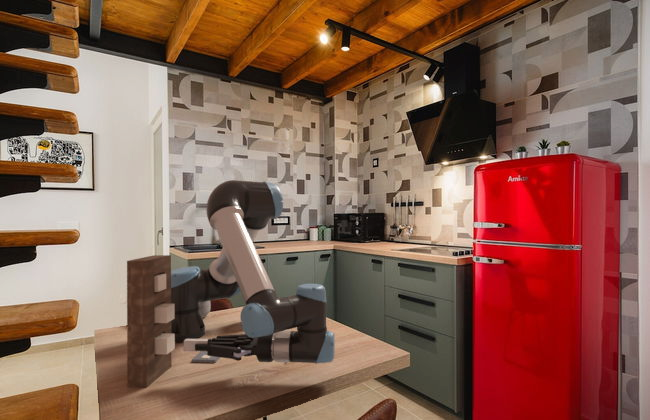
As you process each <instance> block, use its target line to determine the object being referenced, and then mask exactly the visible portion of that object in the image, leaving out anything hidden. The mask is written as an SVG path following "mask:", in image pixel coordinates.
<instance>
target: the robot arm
mask: <svg viewBox="0 0 650 420" xmlns="http://www.w3.org/2000/svg"><path fill="white" fill-rule="evenodd" d="M283 210H284V198H283V193H282V191H281V189H280V187H278V185H277V184H276V183H273V182H266V181H251V180H249V181H248V180H236V179H231V180H227V181H224V182H222V183H220V184H218V185H217V186H216V187H214V189H213V190H212V191H211V193H210V195H209V197H208V199H207V203H206V217H207V220H208V223H209V225H210V227H211V228H212V229H213V230H216V232H217V234H218V235H217V236H218V239H219V240H220V243H221V245H222V249H221V250H220V253H219V255H218V258H216V259H214V260H213V261H211V263H210V264H209V267H208V268H205V269H201V268H200V267H199V266H197V265H193V266H192V265H191V266H184V267H180V268H176V269H173V270H172V269H171V304H174V309H175V319H173V320H171V334H175V343H182V342H183V351H184V352H200V351H201V352H207V355H208V356H214V357H220V358H223V359H231V360H233V361H238V362H239V361H242V357H252V356H255V357H256V359H257V361H258V362H259V363H273V362H275V363H283V364H285V365H286V364H288V363H303V364H305V363H306V364H326V363H331V362H333V361H334V359H335V350H336V349H335V348H336V347H335V346H336V345H335V343H336V340H335V332H334V331H330V330H328V327H327V303H328V301H327V293H326V292H327V291H326V287H325V286H324V285H322V284H319V283H303V284H299V285H298V286H297V287H296V293H295V295H288V296H285V297H278V295H277V293H276V290H275V289H274V285H273V284H272V282H271V279H270V277H269V275H268V273H267V272H268V271H266V269H265V266H264V264H263V261H262V260H261V257H260V255H259V253H258V251H257V247H256V246H255V244H254V241H255V239H256V237H257V235H258V233H259V231H261V230H263V229H265V228H266V227H267V225H268V223H269V222H270V220H275V219H278V218H280V217H281V216H282V213H283ZM239 293H241V296H242V298H243V301H244V303H245V305H244V306H243V307H242V309H241V312H240V321H241V325H240V326H241V329H242V331H243V332H244V333H242V334H241V333H240V334H227V335H226V334H225V335H224V334H223V335H217V336H216V337H212V338H201V337H202V336H204V335H205V334H206V325H205V323H204V322H205V321H204V320H203V318H202V316H201V313H200V302H205V301H210V302H211V301H216V300H223V299H229V298H232V297H236V296H237V295H238V294H239ZM295 328H296V330H292V329H295Z"/></svg>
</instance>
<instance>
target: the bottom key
mask: <svg viewBox="0 0 650 420" xmlns="http://www.w3.org/2000/svg"><path fill="white" fill-rule="evenodd" d="M175 343H176V342H175V334H168V333H161V334H159V335H158V336H156V337H155V354H168V353H170V352H171V353H172V351H174V350H175V349H176V348H175V347H176V344H175Z"/></svg>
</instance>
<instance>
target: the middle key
mask: <svg viewBox="0 0 650 420" xmlns="http://www.w3.org/2000/svg"><path fill="white" fill-rule="evenodd" d="M173 319H175V309H174V304H158V305H156V306H154V320H155V323H168V322H170V321H171V320H173Z"/></svg>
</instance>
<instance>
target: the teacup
mask: <svg viewBox="0 0 650 420" xmlns="http://www.w3.org/2000/svg"><path fill="white" fill-rule="evenodd" d="M211 306H212V305H211V301H205V302H200V313H201V316H202V319H203V318H206V317H207V316H208V314H210V312H211V309H212V308H211Z"/></svg>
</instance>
